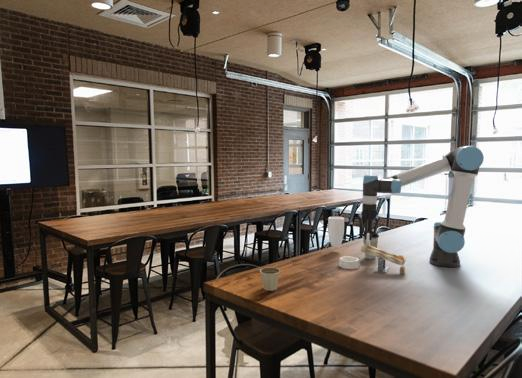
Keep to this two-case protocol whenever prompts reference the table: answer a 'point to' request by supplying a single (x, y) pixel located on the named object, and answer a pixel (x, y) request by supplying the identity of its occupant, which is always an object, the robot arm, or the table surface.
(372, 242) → the coffee cup
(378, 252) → the lever
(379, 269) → the fulcrum
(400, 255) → the ball
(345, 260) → the bowl
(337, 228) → the cup
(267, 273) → the flower pot
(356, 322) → the table surface
